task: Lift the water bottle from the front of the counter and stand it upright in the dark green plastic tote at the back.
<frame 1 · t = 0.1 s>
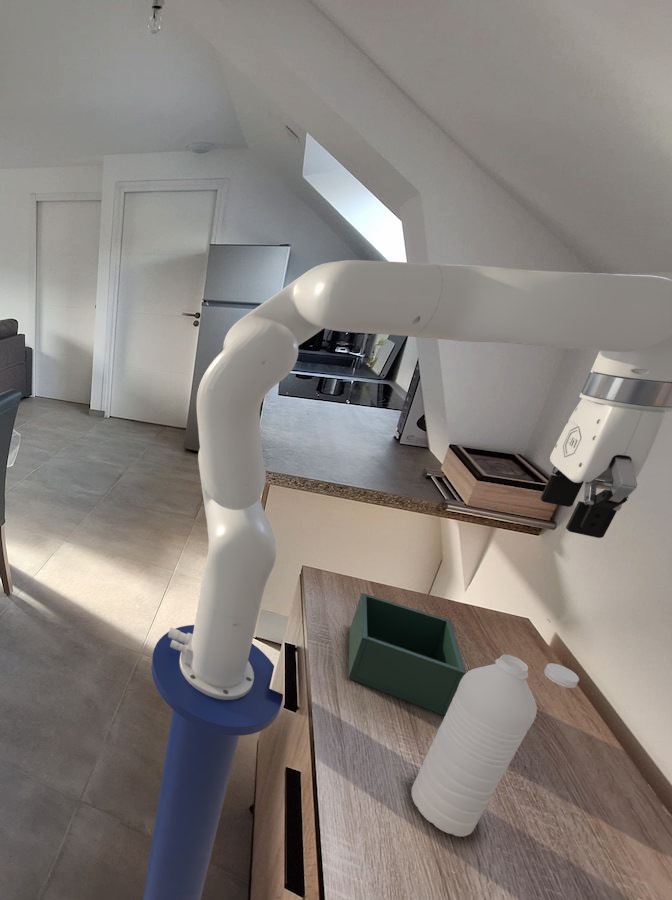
hand: (568, 517, 60), 35 cm above the sideboard, tool pointing down, fingers open, 9 cm apart
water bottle: (450, 813, 58), on the sideboard
tote: (392, 668, 80), on the sideboard
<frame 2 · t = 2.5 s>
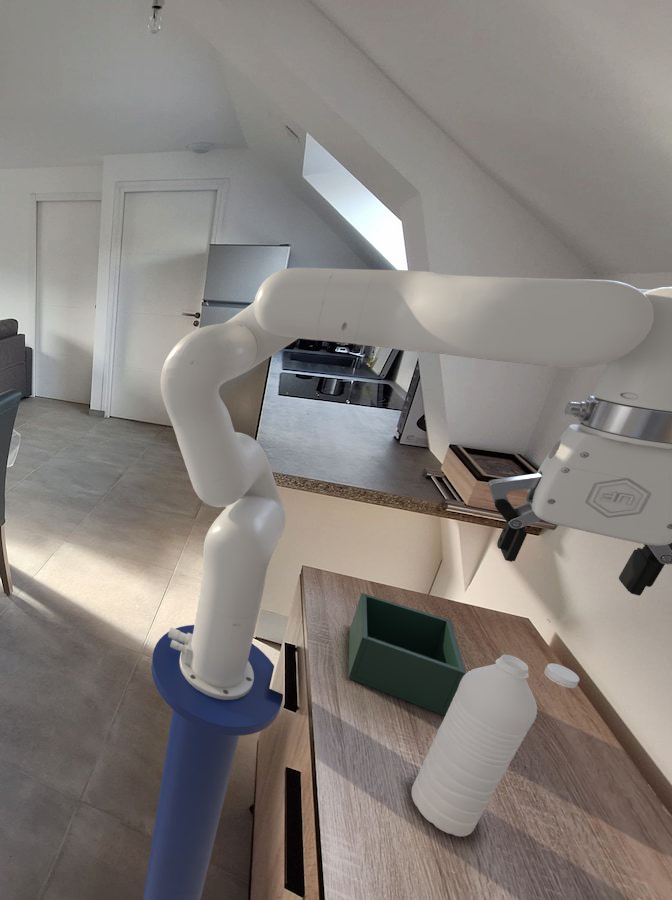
hand: (564, 570, 50), 34 cm above the sideboard, tool pointing down, fingers open, 9 cm apart
nothing on the sideboard moved.
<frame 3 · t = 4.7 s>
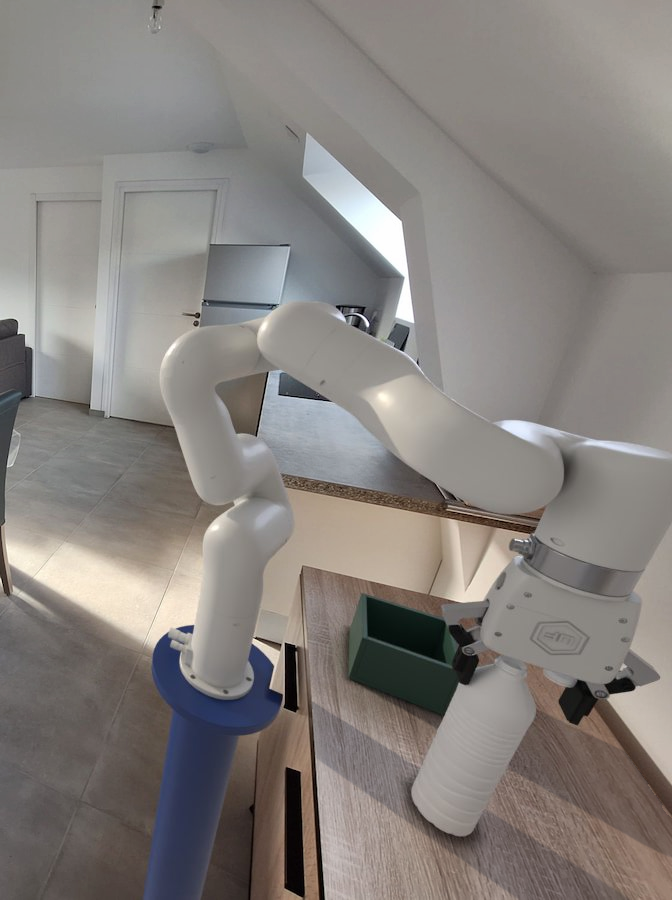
hand: (511, 694, 51), 21 cm above the sideboard, tool pointing down, fingers closed on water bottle, 8 cm apart
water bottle: (450, 813, 58), on the sideboard, touching gripper
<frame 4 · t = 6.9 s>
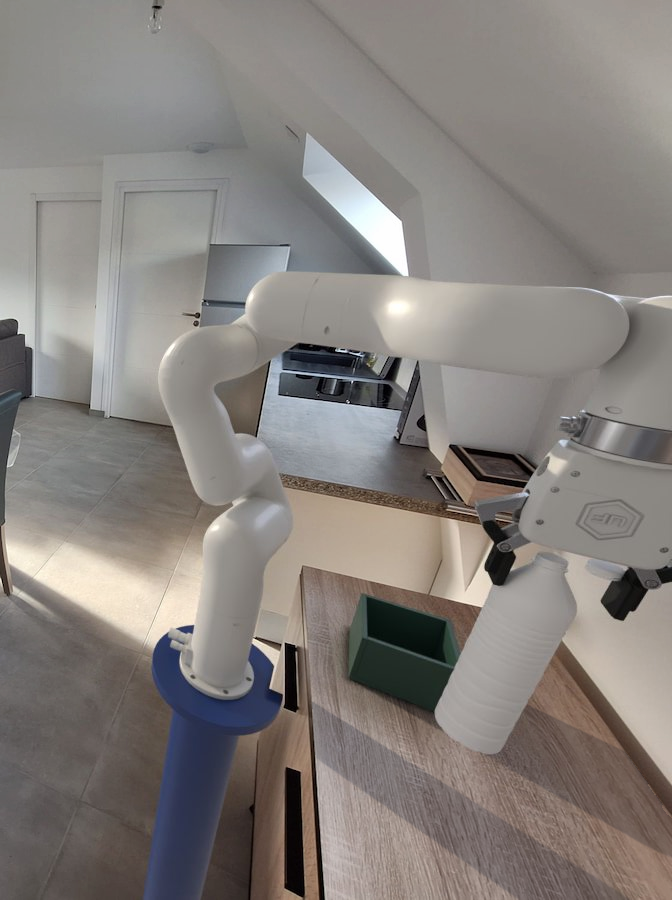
hand: (550, 594, 47), 33 cm above the sideboard, tool pointing down, fingers closed on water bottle, 8 cm apart
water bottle: (476, 733, 55), point 13 cm above the sideboard, touching gripper
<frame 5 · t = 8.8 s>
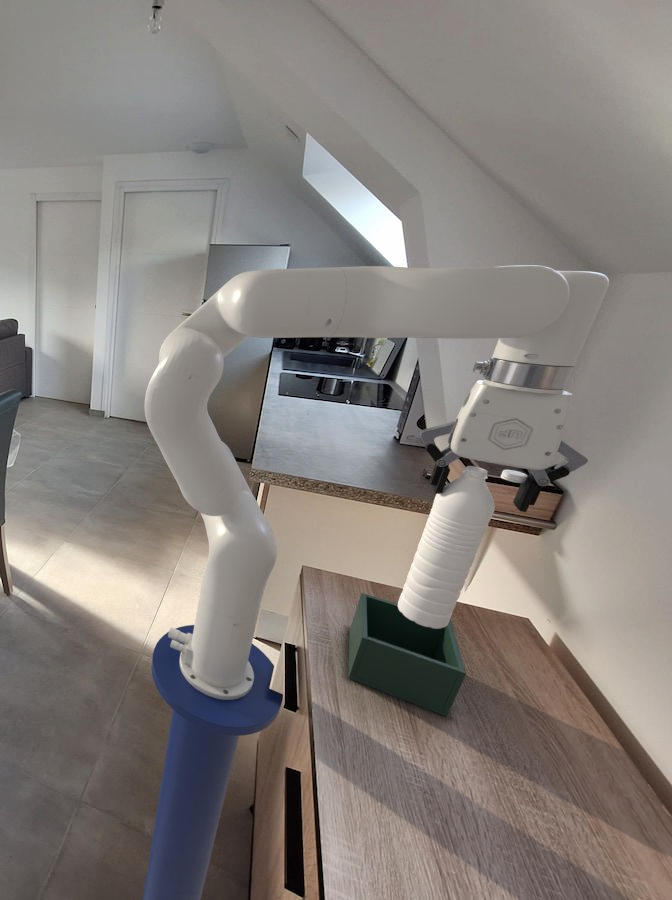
hand: (476, 498, 63), 36 cm above the sideboard, tool pointing down, fingers closed on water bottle, 8 cm apart
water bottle: (429, 617, 71), point 15 cm above the sideboard, touching gripper
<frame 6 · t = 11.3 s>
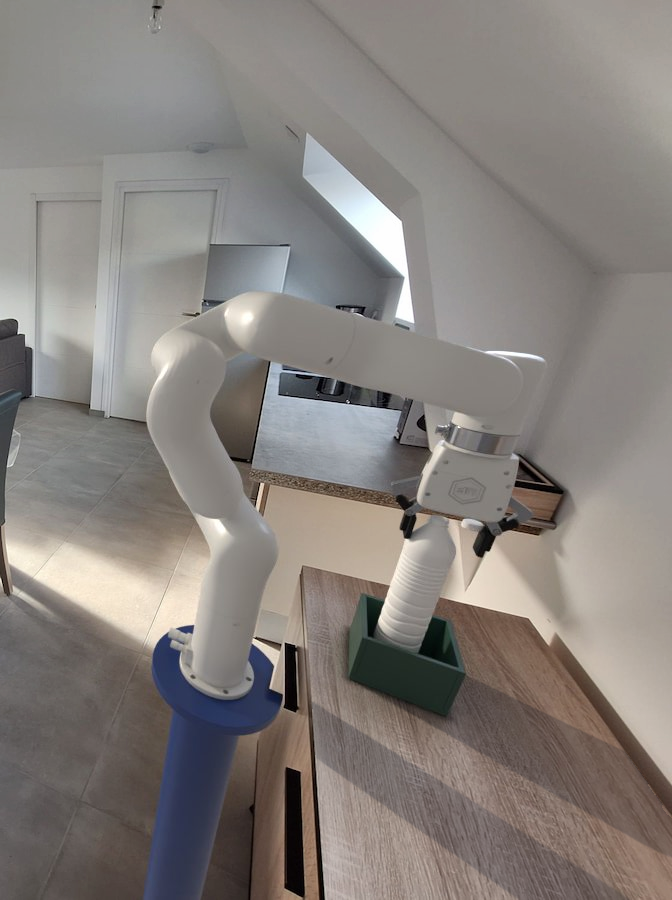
hand: (440, 543, 71), 26 cm above the sideboard, tool pointing down, fingers closed on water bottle, 8 cm apart
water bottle: (401, 646, 78), point 5 cm above the sideboard, touching gripper
when the fingers open (22 cm above the sideboard, at t = 13.2 s): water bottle stays where it is, resting on tote.
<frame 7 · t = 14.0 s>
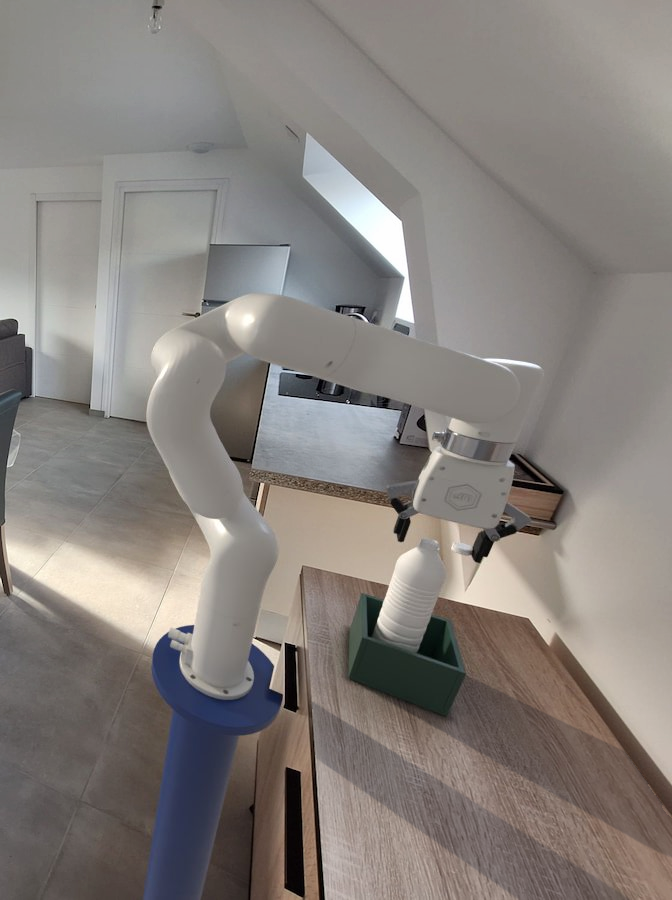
hand: (436, 548, 71), 25 cm above the sideboard, tool pointing down, fingers open, 9 cm apart
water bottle: (394, 665, 80), point 1 cm above the sideboard, touching tote
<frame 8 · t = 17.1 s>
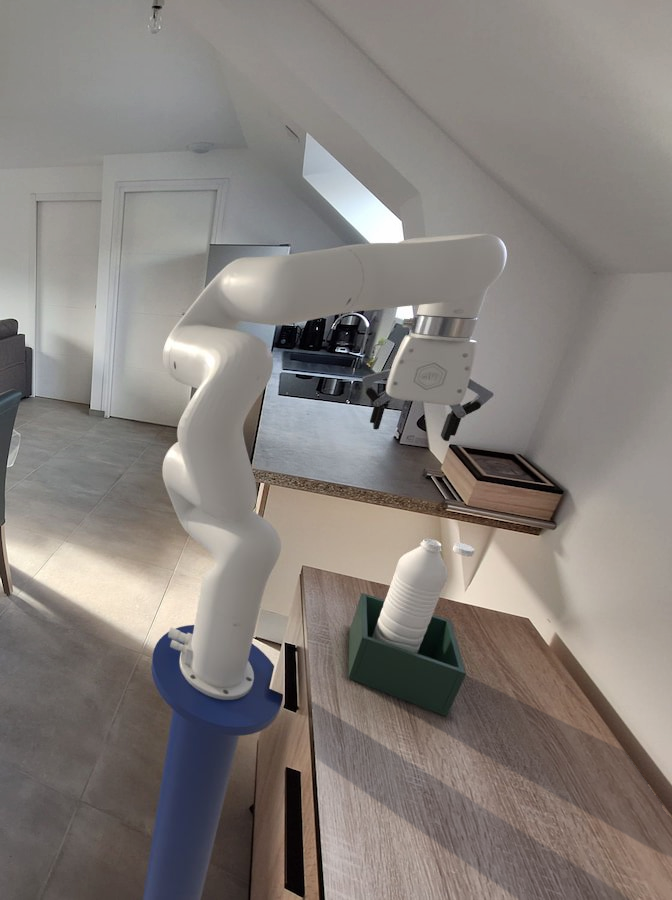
hand: (408, 433, 76), 40 cm above the sideboard, tool pointing down, fingers open, 9 cm apart
nothing on the sideboard moved.
at the end: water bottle inside the target area in the tote (0.1 cm from its centre), point 0.8 cm above the tote's base; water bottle tilted 0°; the gripper is holding nothing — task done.
